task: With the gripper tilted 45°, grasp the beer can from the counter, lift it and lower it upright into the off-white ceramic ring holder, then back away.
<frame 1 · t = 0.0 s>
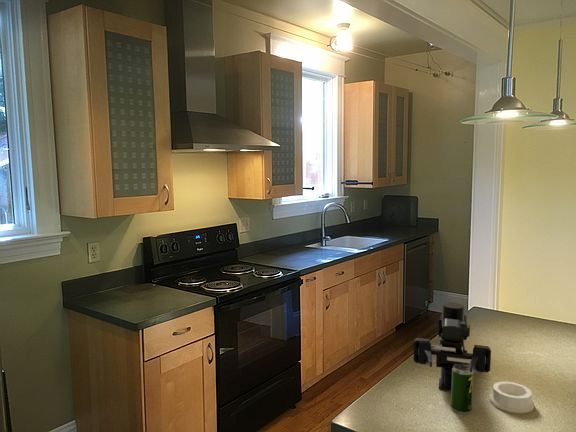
hand: (450, 367, 116), 17 cm above the countertop, tool horizontal, fingers open, 9 cm apart
beer can: (461, 410, 128), on the countertop
can holder: (511, 403, 131), on the countertop
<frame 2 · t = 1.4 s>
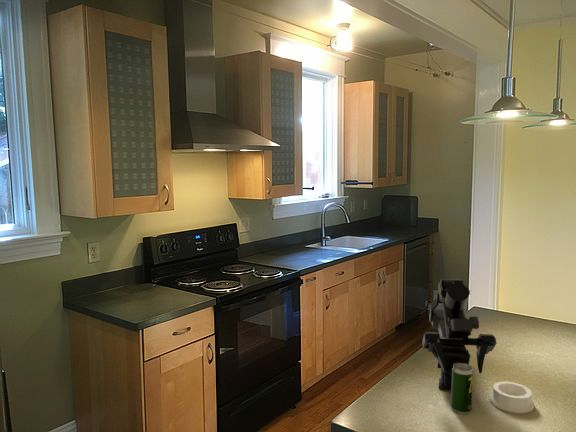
hand: (462, 372, 127), 11 cm above the countertop, tool tilted 45°, fingers open, 9 cm apart
nothing on the countertop moved.
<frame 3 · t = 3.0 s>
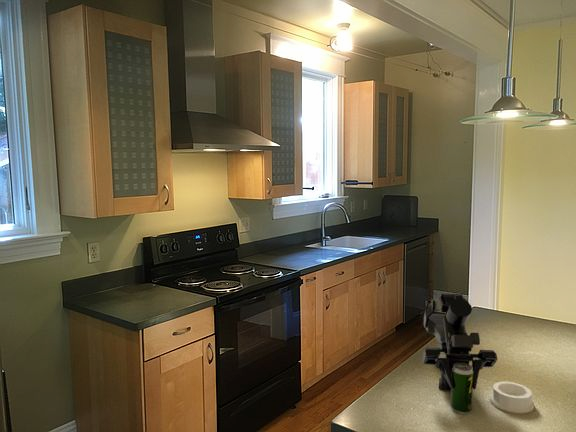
hand: (463, 388, 126), 7 cm above the countertop, tool tilted 45°, fingers closed on beer can, 5 cm apart
beer can: (461, 410, 128), on the countertop, touching gripper
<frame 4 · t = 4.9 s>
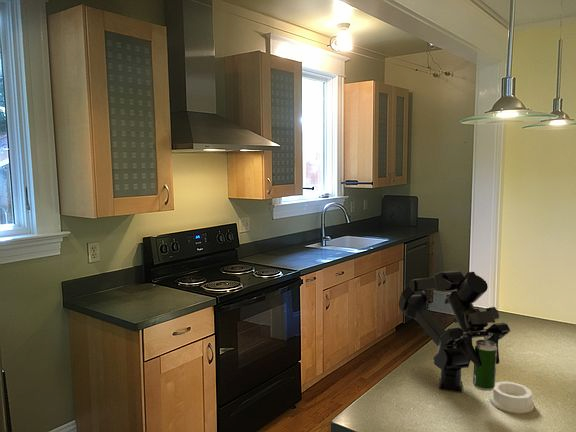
hand: (488, 364, 124), 13 cm above the countertop, tool tilted 45°, fingers closed on beer can, 5 cm apart
beer can: (483, 387, 126), point 7 cm above the countertop, touching gripper
when the fingers open (9 cm above the countertop, at t = 7.2 s): beer can drops 1 cm, resting on can holder.
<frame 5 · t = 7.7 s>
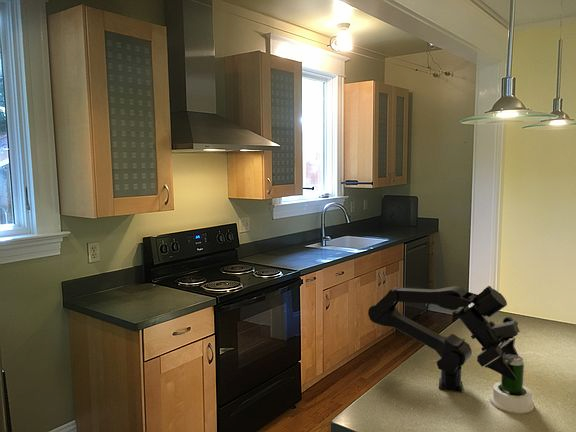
hand: (518, 373, 129), 9 cm above the countertop, tool tilted 45°, fingers open, 9 cm apart
beer can: (511, 400, 131), point 1 cm above the countertop, touching can holder
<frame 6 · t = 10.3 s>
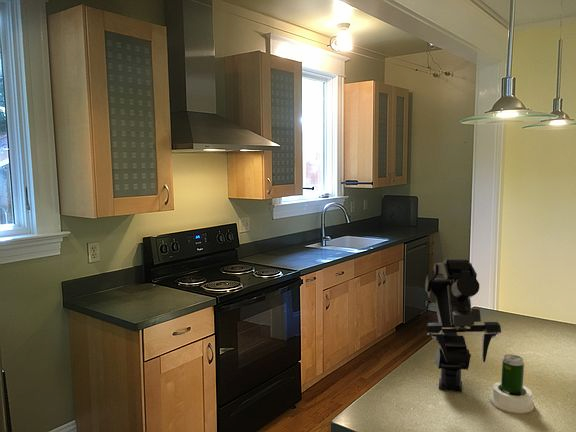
hand: (465, 362, 126), 13 cm above the countertop, tool tilted 25°, fingers open, 9 cm apart
nothing on the countertop moved.
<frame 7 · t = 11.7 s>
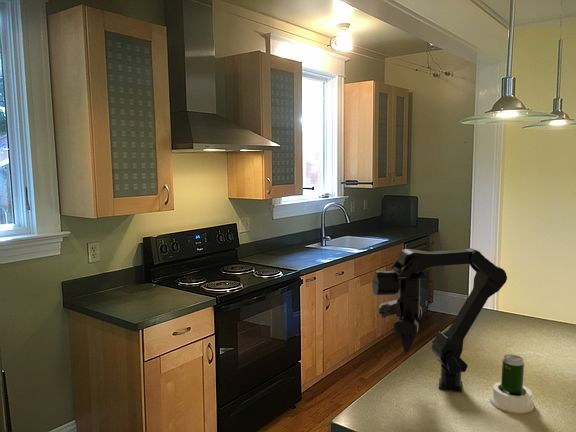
hand: (407, 346, 138), 13 cm above the countertop, tool pointing down, fingers open, 9 cm apart
nothing on the countertop moved.
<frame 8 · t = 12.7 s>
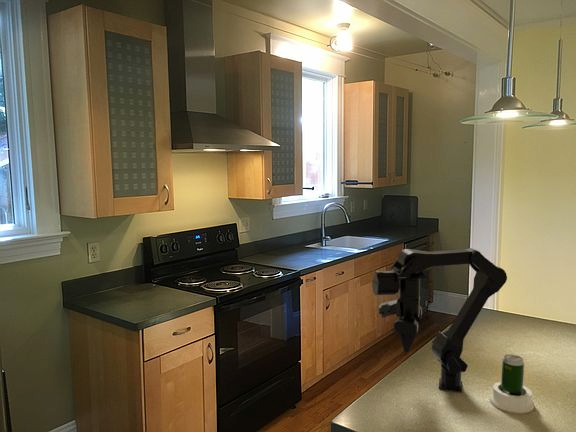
hand: (407, 346, 138), 13 cm above the countertop, tool pointing down, fingers open, 9 cm apart
nothing on the countertop moved.
at the end: beer can 0.1 cm off-centre on the can holder, point 0.8 cm above the can holder's base; beer can tilted 0°; the gripper is holding nothing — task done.
